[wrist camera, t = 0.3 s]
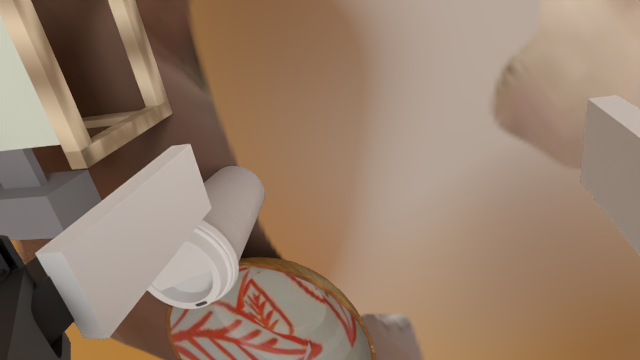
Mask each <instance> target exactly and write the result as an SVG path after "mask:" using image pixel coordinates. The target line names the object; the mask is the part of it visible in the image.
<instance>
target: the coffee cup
mask: <svg viewBox="0 0 640 360" xmlns="http://www.w3.org/2000/svg"><path fill="white" fill-rule="evenodd" d="M203 184H204V187H205V189H206V192H207V195H208V198H209V201H210V204H211V207H212V208H211V209H210V211H209V212H208V213H207V214H206V216H205V217H204V218H203V220H202V221H201V222H200V223H199V225H198V226H197V227H196V228H195V230H194V231H193V232H192V233H191V235H190V236H189V237H188V238H187V240H186V241H185V242H184V244H183V245H182V246H181V247H180V249H179V250H178V251H177V252H176V254H175V255H174V256H173V257H172V259H171V260H170V261H169V263H168V264H167V265H166V266H165V268H164V269H163V270H162V271H161V273H160V274H159V275H158V276H157V278H156V279H155V280H154V282H153V283H152V284H151V285H150V287H149V288H148V289H147V290H148V291H149V292H150V293H151V294H152V295H154V296H155V297H156V298H158V299H159V300H161V301H163V302H165V303H167V304H169V305H172V306H175V307H179V308H184V309H196V308H201V307H204V306H207V305H209V304H210V303H212V302H214V301H216V300H218V299H220V298H221V297H223V296H224V295H225V294H227V293H228V292H229V291H230V290H231V289H232V288H233V286H234V285H235V283H236V281H237V278H238V273H239V265H238V263H239V260H240V258H241V255H242V253H243V250H244V248H245V245H246V243H247V241H248V238H249V236H250V233H251V231H252V229H253V226H254V224H255V221H256V219H257V217H258V214H259V212H260V209H261V207H262V204H263V202H264V198H265V191H264V187H263V185H262V183H261V181H260V180H259V178H258V177H257V176H256V175H255V174H254V173H253V172H251V171H249V170H248V169H246V168H243V167H240V166H227V167H224V168H222V169H220V170H219V171H217V172H216V173H215V174H214V175H213V176H211V177H210V178H209V179H208V180H207V181H205V182H204V183H203Z"/></svg>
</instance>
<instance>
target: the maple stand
mask: <svg viewBox="0 0 640 360" xmlns="http://www.w3.org/2000/svg"><path fill="white" fill-rule="evenodd" d="M108 2H109V5H110V8H111V10H112V13H113V16H114V19H115V22H116V24H117V27H118V30H119V33H120V36H121V38H122V41H123V44H124V47H125V50H126V52H127V55H128V58H129V61H130V63H131V66H132V69H133V72H134V75H135V77H136V80H137V83H138V86H139V89H140V91H141V94H142V97H143V100H144V103H145V105H146V108H144V109H142V110H138V111H130V112H122V113H114V114H106V115H98V116H91V117H83V118H81V116H80V113H79V111H78V109H77V106H76V104H75V102H74V99H73V97H72V95H71V92H70V90H69V88H68V86H67V83H66V81H65V79H64V76H63V74H62V72H61V69H60V67H59V65H58V62H57V60H56V58H55V55H54V53H53V51H52V48H51V46H50V44H49V41H48V39H47V37H46V34H45V32H44V30H43V27H42V25H41V23H40V21H39V18H38V16H37V14H36V11H35V9H34V7H33V4H32V2H31V0H0V16H1V18H2V20H3V22H4V24H5V26H6V28H7V31H8V33H9V35H10V37H11V39H12V41H13V44H14V46H15V48H16V50H17V52H18V54H19V56H20V59H21V61H22V63H23V65H24V67H25V69H26V71H27V74H28V76H29V78H30V80H31V82H32V84H33V86H34V89H35V91H36V93H37V95H38V97H39V99H40V101H41V104H42V106H43V108H44V110H45V112H46V114H47V116H48V119H49V121H50V123H51V125H52V127H53V129H54V132H55V134H56V136H57V138H58V140H59V142H60V144H61V147H62V149H63V151H64V153H65V155H66V157H67V159H68V162H69V164H70V166H71V168H72V169H82V168H88V167H90V166H92V165H93V164H95V163H96V162H98V161H99V160H101V159H102V158H104V157H106V156H107V155H109V154H110V153H112V152H113V151H115V150H117V149H118V148H120V147H121V146H123V145H124V144H126V143H127V142H129V141H131V140H132V139H134V138H135V137H137V136H138V135H140V134H141V133H143V132H145V131H146V130H148V129H149V128H151V127H152V126H154V125H155V124H157V123H159V122H160V121H162V120H163V119H165V118H166V117H168V116H169V115H171V114H173V113H172V110H171V107H170V104H169V101H168V98H167V95H166V92H165V88H164V85H163V82H162V79H161V76H160V73H159V70H158V67H157V64H156V61H155V58H154V55H153V52H152V49H151V46H150V43H149V40H148V37H147V34H146V31H145V28H144V25H143V22H142V19H141V16H140V13H139V10H138V7H137V4H136V1H135V0H108ZM112 125H113V126H112ZM104 126H111V127H109V128H108V129H106V130H104V131H102V132H100V133H98V134H97V135H95V136H93V137H91V138H90V137H89V134H88V132H87V130H86V129H87V128H95V127H104Z"/></svg>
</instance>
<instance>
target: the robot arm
mask: <svg viewBox="0 0 640 360" xmlns="http://www.w3.org/2000/svg"><path fill="white" fill-rule="evenodd" d="M580 182H581V183H582V185H583V186H584V187H585V188H586V190H587V191H588V192H589V193H590V195H591V196H592V197H593V198H594V200H595V201H596V202H597V203H598V205H599V206H600V207H601V209H602V210H603V211H604V212H605V213H606V215H607V216H608V217H609V219H610V220H611V221H612V222H613V224H614V225H615V226H616V227H617V229H618V230H619V231H620V232H621V234H622V235H623V236H624V237H625V239H626V240H627V241H628V242H629V244H630V245H631V246H632V247H633V249H634V250H635V251H636V253H637V254H638V255H639V256H640V109H638V108H637V107H635V106H634V105H632V104H631V103H629V102H627V101H626V100H624V99H623V98H621V97H619V96H618V95H615V96H606V97H597V98H588V102H587V112H586V123H585V134H584V144H583V155H582V166H581V176H580ZM211 208H212V207H211V204H210V201H209V198H208V195H207V192H206V189H205V187H204V184H203V181H202V178H201V175H200V172H199V169H198V166H197V163H196V160H195V157H194V154H193V151H192V148H191V145H190V144H184V145H176V146H171V147H170V148H169V149H167V150H166V151H165V152H163V153H162V154H161V155H160V156H158V157H157V158H156V159H155V160H153V161H152V162H151V163H149V164H148V165H147V166H146V167H144V168H143V169H142V170H141V171H139V172H138V173H137V174H135V175H134V176H133V177H132V178H130V179H129V180H128V181H127V182H125V183H124V184H123V185H121V186H120V187H119V188H118V189H116V190H115V191H114V192H113V193H111V194H110V195H109V196H107V197H106V198H105V199H104V200H102V201H101V202H100V203H99V204H97V205H96V206H95V207H93V208H92V209H91V210H90V211H88V212H87V213H86V214H85V215H83V216H82V217H81V218H79V219H78V220H77V221H76V222H74V223H73V224H72V225H71V226H69V227H68V228H67V229H65V230H64V231H63V232H62V233H60V234H59V235H58V236H57V237H55V238H54V239H53V240H51V241H50V242H49V243H48V244H46V245H45V246H44V247H43V248H41V249H40V250H39V251H37V252H36V253H35V254H36V257H35V258H34V259H32V260H31V261H30V262H29V263H27V264H26V265H25V264H24V263H23V261H22V259H21V258H20V256H19V254H18V253H17V251H16V249H15V248H14V246H13V244H12V243H11V241H10V239H9V238H8V236H5V235H0V360H71V359H70V357H71V356H70V355H71V354H70V352H71V351H70V348H71V347H70V346H71V345H70V344H71V343H70V341H69V339H68V337H67V335H66V333H65V332H64V331H65V330H66V329H67V328H68V327H69V326H70V325H71V324H72V323H73V322H75V324H76V326H77V327H78V329H79V331H80V333H81V334H82V336H83V338H97V339H98V338H99V339H104V338H105V339H108V338H109V337H110V336H111V335H112V333H113V332H114V331H115V330H116V328H117V327H118V326H119V325H120V323H121V322H122V321H123V319H124V318H125V317H126V316H127V314H128V313H129V312H130V311H131V309H132V308H133V307H134V306H135V304H136V303H137V302H138V300H139V299H140V298H141V297H142V295H143V294H144V293H145V292H146V290H147V289H148V288H149V287H150V285H151V284H152V283H153V282H154V280H155V279H156V278H157V276H158V275H159V274H160V273H161V271H162V270H163V269H164V268H165V266H166V265H167V264H168V263H169V261H170V260H171V259H172V257H173V256H174V255H175V254H176V252H177V251H178V250H179V249H180V247H181V246H182V245H183V244H184V242H185V241H186V240H187V238H188V237H189V236H190V235H191V233H192V232H193V231H194V230H195V228H196V227H197V226H198V225H199V223H200V222H201V221H202V220H203V218H204V217H205V216H206V214H207V213H208V212H209V211H210V209H211Z"/></svg>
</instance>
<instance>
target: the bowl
mask: <svg viewBox="0 0 640 360" xmlns="http://www.w3.org/2000/svg"><path fill="white" fill-rule="evenodd" d="M238 265H239V273H238V278H237V281H236V283H235V285H234V286H233V288H232V289H231V290H230V291H229V292H228V293H227V294H225V295H224V296H223V297H221V298H220V299H218V300H216V301H214V302H212V303H210V304H209V305H207V306H204V307H201V308H196V309H184V308H179V307H175V306H172V305H168V310H167V314H166V330H167V334H168V338H169V341H170V345H171V347H172V349H173V351H174V353H175V354H176V356H177V358H178V360H376V354H375V350H374V346H373V342H372V339H371V336H370V334H369V332H368V330H367V328H366V327H365V325H364V323H363V321H362V319H361V317H360V315H359V314H358V312H357V310H356V309H355V307H354V306H353V305H352V303H351V302H350V301H349V300H348V299H347V297H346V296H345V295H344V294H343V293H342V292H341V291H340V290H339V289H338V288H336V287H335V286H334V285H333V284H332V283H331V282H330V281H328V280H327V279H326V278H324V277H323V276H321V275H320V274H318V273H316V272H315V271H313V270H311V269H309V268H307V267H304V266H302V265H299V264H297V263H294V262H291V261H286V260H282V259H278V258H267V257H251V258H241V259H240V260H239V263H238Z"/></svg>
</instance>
